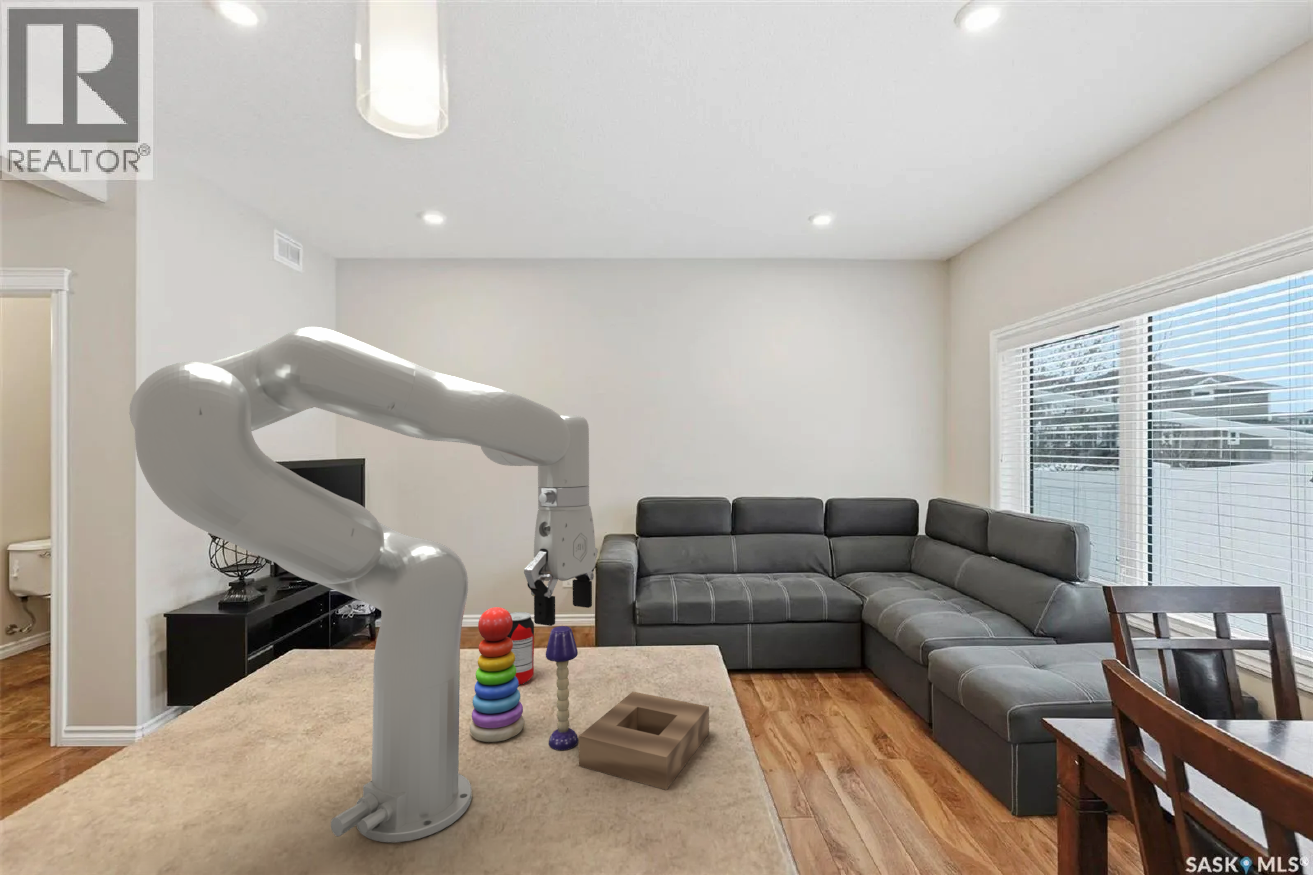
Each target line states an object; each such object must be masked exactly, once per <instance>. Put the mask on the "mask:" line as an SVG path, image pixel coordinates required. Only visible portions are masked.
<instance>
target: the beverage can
mask: <svg viewBox="0 0 1313 875" xmlns="http://www.w3.org/2000/svg"><path fill="white" fill-rule="evenodd" d="M509 613H510V615H511V617H512V621H513V625H512V629H511V631H510V633H509V634H508V636H507V637H509V638H510V639H511V640H512V641H513V647H512V650H511V651H512V652H513V653H514V655H515V661H514V663H513V664H514V665H515V667H516V675H515V676H516V677H517V679H518V683H519V684H521V685H524V684H526V683H528V682H529V681H530V680H531V679H532V678H533V676H534V669H535V668H534V666H535V665H534V664H535V658H534V657H535V622H534V620H532V615H531V613H529V612H524V611H516V612H509ZM527 681H528V682H527ZM525 682H526V683H525ZM523 683H524V684H523ZM519 684H518V686H520V685H519Z"/></svg>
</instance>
